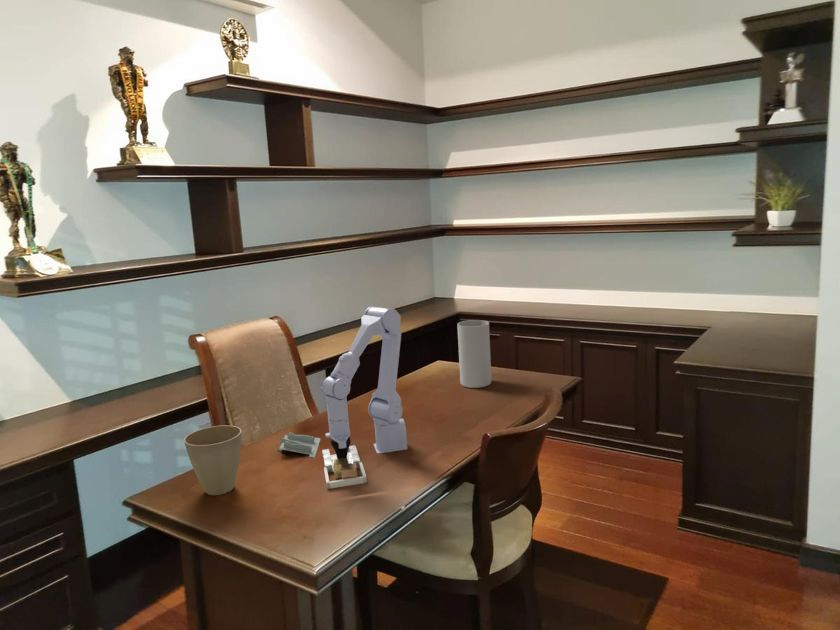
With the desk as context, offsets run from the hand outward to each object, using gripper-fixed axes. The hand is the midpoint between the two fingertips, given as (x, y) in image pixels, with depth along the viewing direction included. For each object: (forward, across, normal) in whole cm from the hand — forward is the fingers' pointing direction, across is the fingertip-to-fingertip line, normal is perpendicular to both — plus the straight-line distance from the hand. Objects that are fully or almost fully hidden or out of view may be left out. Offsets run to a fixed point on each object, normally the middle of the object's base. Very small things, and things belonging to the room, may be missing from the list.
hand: (342, 462), depth 180 cm
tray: (+2, +8, 0) cm, 8 cm away
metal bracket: (+2, -18, -11) cm, 21 cm away
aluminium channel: (+2, -4, 0) cm, 4 cm away
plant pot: (+2, +1, -34) cm, 34 cm away
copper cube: (+1, +10, +1) cm, 10 cm away
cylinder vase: (+2, -61, +60) cm, 86 cm away
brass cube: (+1, +5, -1) cm, 6 cm away
